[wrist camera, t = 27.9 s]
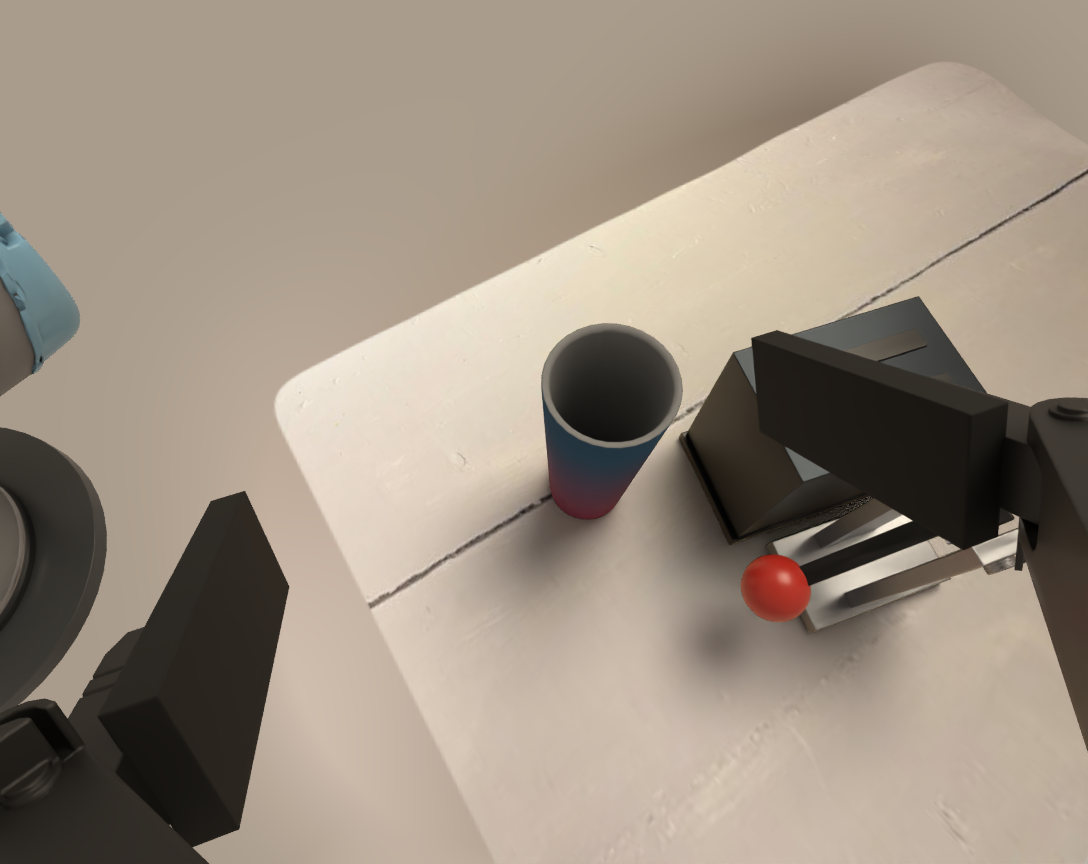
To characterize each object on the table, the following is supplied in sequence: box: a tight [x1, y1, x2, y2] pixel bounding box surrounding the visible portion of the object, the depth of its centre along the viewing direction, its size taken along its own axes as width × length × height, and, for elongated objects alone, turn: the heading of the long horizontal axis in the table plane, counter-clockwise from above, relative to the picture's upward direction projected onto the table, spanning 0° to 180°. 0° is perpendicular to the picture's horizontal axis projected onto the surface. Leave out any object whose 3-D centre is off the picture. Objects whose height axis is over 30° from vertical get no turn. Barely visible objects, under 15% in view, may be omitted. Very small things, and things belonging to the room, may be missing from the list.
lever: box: [741, 508, 1014, 622], centre depth 33 cm, size 13×4×4 cm
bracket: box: [766, 498, 1018, 633], centre depth 36 cm, size 10×6×14 cm, turn 109°
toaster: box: [679, 296, 987, 545], centre depth 39 cm, size 13×8×12 cm
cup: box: [541, 323, 683, 519], centre depth 37 cm, size 7×7×15 cm
